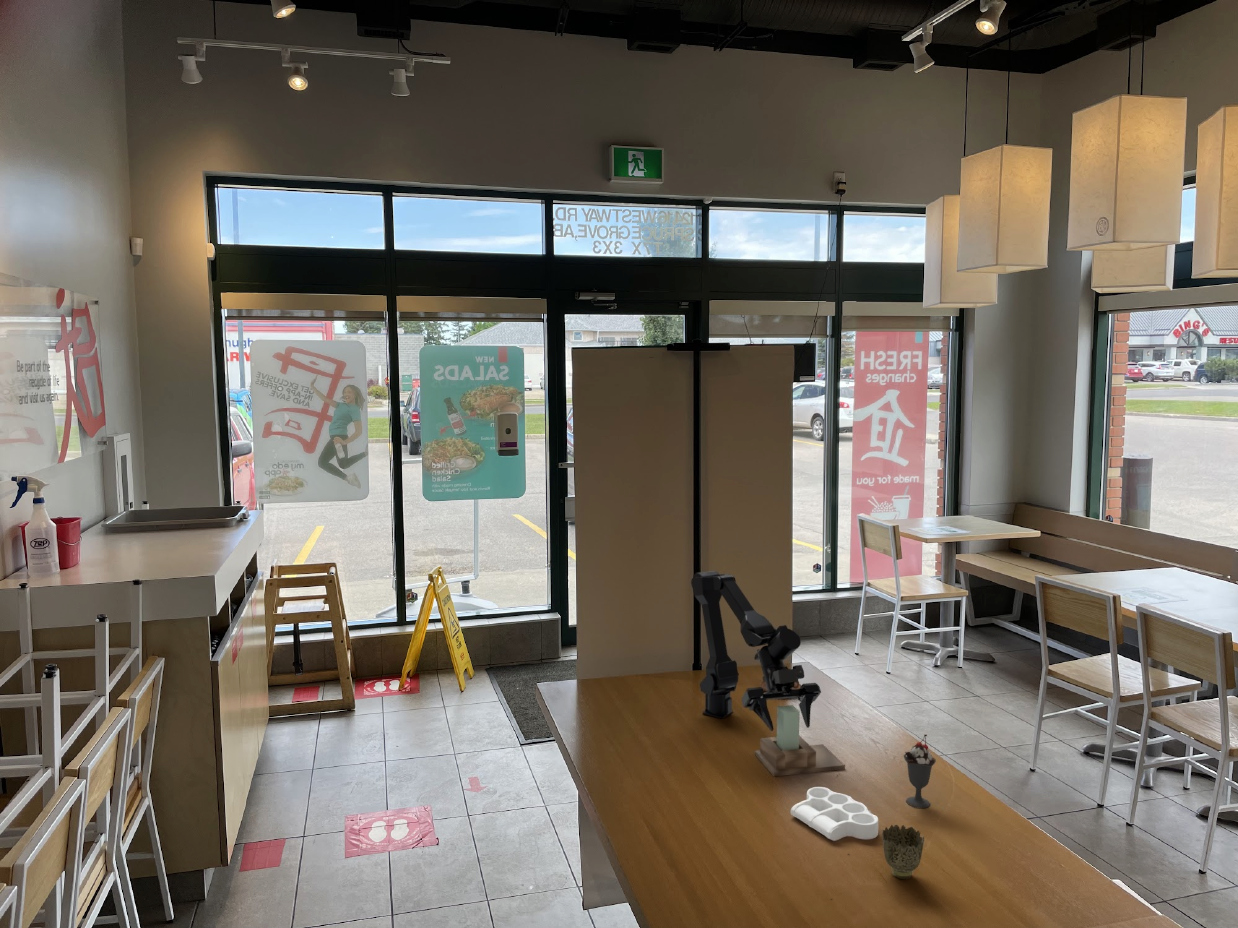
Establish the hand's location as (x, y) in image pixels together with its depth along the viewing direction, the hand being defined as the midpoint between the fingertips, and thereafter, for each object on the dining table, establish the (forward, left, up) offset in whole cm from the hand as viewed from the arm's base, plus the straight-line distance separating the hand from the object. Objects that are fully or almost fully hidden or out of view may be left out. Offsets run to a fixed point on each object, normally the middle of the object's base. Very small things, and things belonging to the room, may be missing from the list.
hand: (790, 728), depth 206 cm
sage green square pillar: (-1, +1, -8) cm, 8 cm away
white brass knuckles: (+18, -19, -10) cm, 28 cm away
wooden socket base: (+1, +3, -9) cm, 10 cm away
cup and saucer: (-22, +45, -9) cm, 51 cm away
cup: (+36, -32, -9) cm, 48 cm away
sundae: (+30, -2, -9) cm, 32 cm away
